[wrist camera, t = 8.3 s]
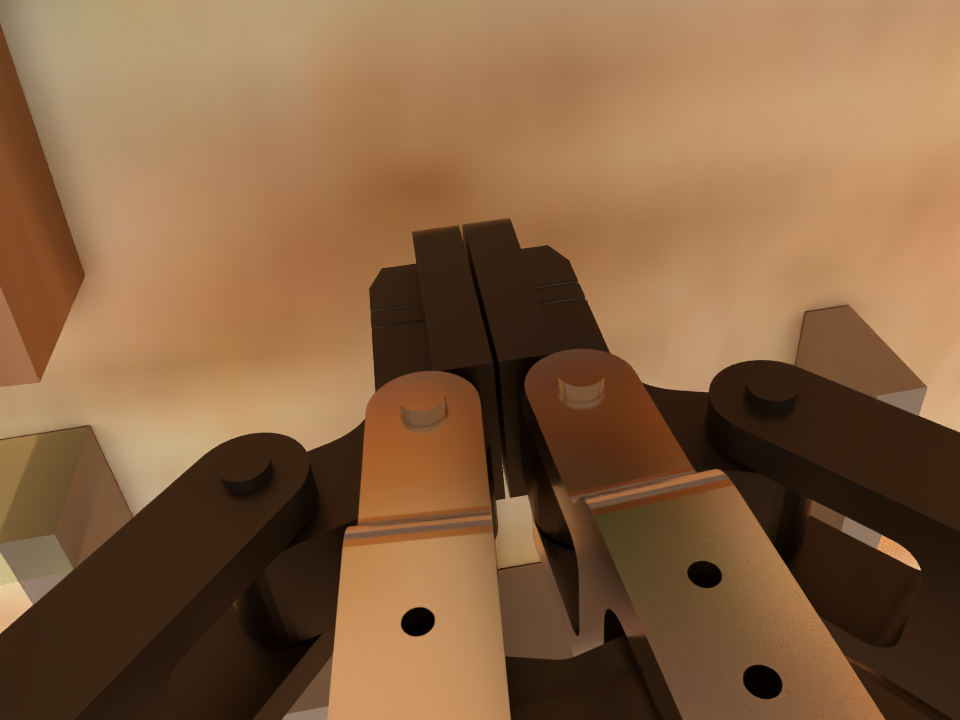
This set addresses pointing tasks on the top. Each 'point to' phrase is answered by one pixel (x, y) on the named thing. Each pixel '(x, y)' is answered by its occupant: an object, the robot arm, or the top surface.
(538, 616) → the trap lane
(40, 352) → the walnut block
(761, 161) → the top surface
